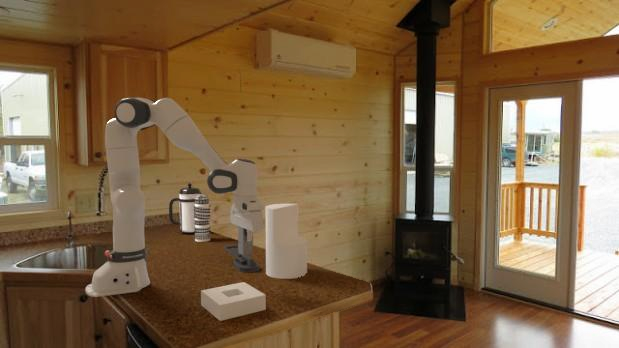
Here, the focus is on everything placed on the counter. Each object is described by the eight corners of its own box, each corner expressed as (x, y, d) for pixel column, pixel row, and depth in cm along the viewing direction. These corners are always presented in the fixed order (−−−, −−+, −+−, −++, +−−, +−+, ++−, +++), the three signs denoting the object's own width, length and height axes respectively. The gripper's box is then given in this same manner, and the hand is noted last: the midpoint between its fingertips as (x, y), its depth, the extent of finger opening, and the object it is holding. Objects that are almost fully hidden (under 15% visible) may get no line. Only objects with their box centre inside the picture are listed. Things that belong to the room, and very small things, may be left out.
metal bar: (243, 255, 162) (243, 228, 161) (238, 252, 165) (238, 226, 164) (252, 253, 164) (252, 227, 163) (248, 251, 167) (248, 225, 166)
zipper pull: (238, 243, 210) (262, 255, 189) (238, 257, 210) (262, 270, 189) (220, 246, 205) (242, 258, 184) (221, 260, 206) (243, 273, 184)
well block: (220, 321, 136) (219, 305, 136) (201, 305, 149) (200, 290, 149) (265, 309, 145) (265, 294, 145) (244, 295, 158) (243, 281, 158)
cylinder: (257, 274, 183) (256, 207, 181) (282, 264, 198) (282, 202, 196) (291, 281, 174) (290, 211, 172) (314, 270, 188) (314, 205, 186)
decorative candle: (196, 238, 251) (195, 194, 249) (213, 238, 250) (212, 194, 248) (191, 241, 242) (190, 196, 240) (208, 241, 241) (207, 196, 239)
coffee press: (196, 228, 276) (195, 181, 274) (207, 233, 264) (206, 183, 262) (169, 232, 265) (167, 183, 263) (180, 237, 253) (178, 185, 251)
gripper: (226, 200, 170) (226, 235, 171) (250, 206, 153) (250, 246, 154) (241, 199, 173) (241, 233, 174) (266, 205, 156) (266, 244, 157)
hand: (245, 239), depth 164 cm, fingers closed on metal bar, 4 cm apart
